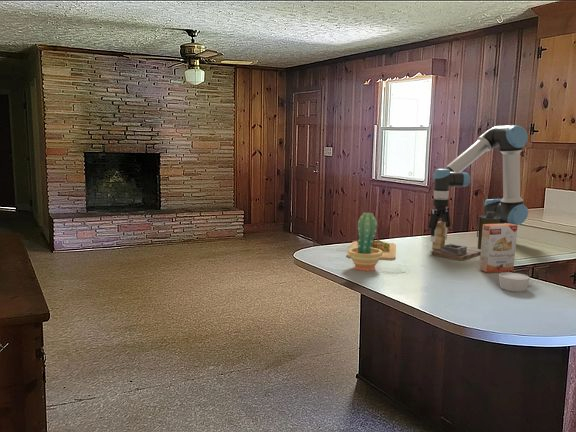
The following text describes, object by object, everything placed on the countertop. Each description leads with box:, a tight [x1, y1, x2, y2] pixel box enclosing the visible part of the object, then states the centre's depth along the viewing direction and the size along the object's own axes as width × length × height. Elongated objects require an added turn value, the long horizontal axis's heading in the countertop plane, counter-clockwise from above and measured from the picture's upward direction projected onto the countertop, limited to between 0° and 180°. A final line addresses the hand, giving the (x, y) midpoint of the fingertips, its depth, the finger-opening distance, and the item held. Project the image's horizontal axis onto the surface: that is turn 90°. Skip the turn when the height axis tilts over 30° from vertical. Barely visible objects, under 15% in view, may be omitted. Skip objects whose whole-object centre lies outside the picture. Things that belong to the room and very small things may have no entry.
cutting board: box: [346, 239, 397, 261], centre depth 275 cm, size 35×23×8 cm
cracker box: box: [478, 223, 518, 274], centre depth 236 cm, size 14×6×21 cm, turn 105°
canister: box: [476, 212, 501, 249], centre depth 278 cm, size 11×10×20 cm
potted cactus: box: [347, 212, 383, 271], centre depth 239 cm, size 15×15×25 cm
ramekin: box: [498, 272, 530, 293], centre depth 210 cm, size 11×11×5 cm
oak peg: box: [432, 220, 446, 250], centre depth 282 cm, size 4×4×14 cm
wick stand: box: [431, 243, 481, 261], centre depth 270 cm, size 24×16×4 cm, turn 133°
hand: (438, 240), depth 282 cm, fingers open, 10 cm apart
